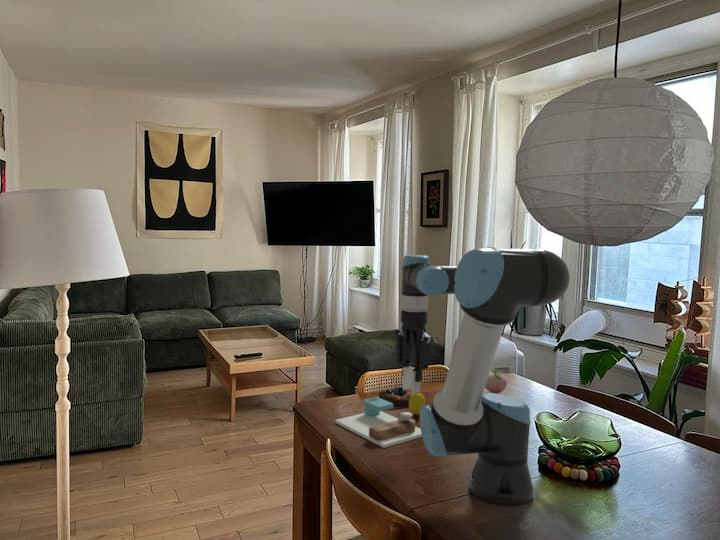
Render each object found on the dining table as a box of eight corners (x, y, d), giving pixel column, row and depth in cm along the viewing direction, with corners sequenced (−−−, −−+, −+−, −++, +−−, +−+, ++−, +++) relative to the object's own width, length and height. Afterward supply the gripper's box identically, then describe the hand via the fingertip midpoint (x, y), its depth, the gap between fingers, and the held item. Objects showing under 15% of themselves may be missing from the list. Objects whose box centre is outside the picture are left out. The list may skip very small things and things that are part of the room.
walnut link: (406, 424, 181) (406, 416, 181) (418, 429, 176) (419, 421, 176) (367, 434, 171) (367, 426, 171) (379, 441, 167) (379, 432, 167)
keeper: (392, 421, 186) (393, 403, 186) (378, 425, 183) (379, 407, 182) (376, 414, 193) (376, 396, 192) (362, 417, 189) (362, 399, 189)
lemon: (424, 412, 196) (425, 389, 195) (424, 418, 191) (425, 394, 190) (408, 411, 197) (409, 388, 196) (408, 417, 191) (409, 393, 190)
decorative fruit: (478, 391, 222) (479, 366, 221) (497, 390, 224) (499, 365, 223) (489, 399, 213) (490, 372, 212) (509, 398, 215) (511, 372, 214)
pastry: (374, 400, 208) (374, 384, 208) (402, 396, 214) (403, 381, 213) (389, 410, 198) (389, 393, 198) (418, 406, 204) (419, 389, 203)
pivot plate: (427, 435, 176) (428, 416, 175) (384, 447, 165) (384, 427, 165) (377, 412, 195) (378, 395, 194) (335, 422, 184) (335, 404, 183)
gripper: (444, 312, 159) (440, 395, 162) (405, 304, 172) (402, 381, 174) (424, 315, 155) (421, 400, 157) (385, 306, 167) (383, 385, 170)
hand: (411, 390), depth 166 cm, fingers open, 3 cm apart
